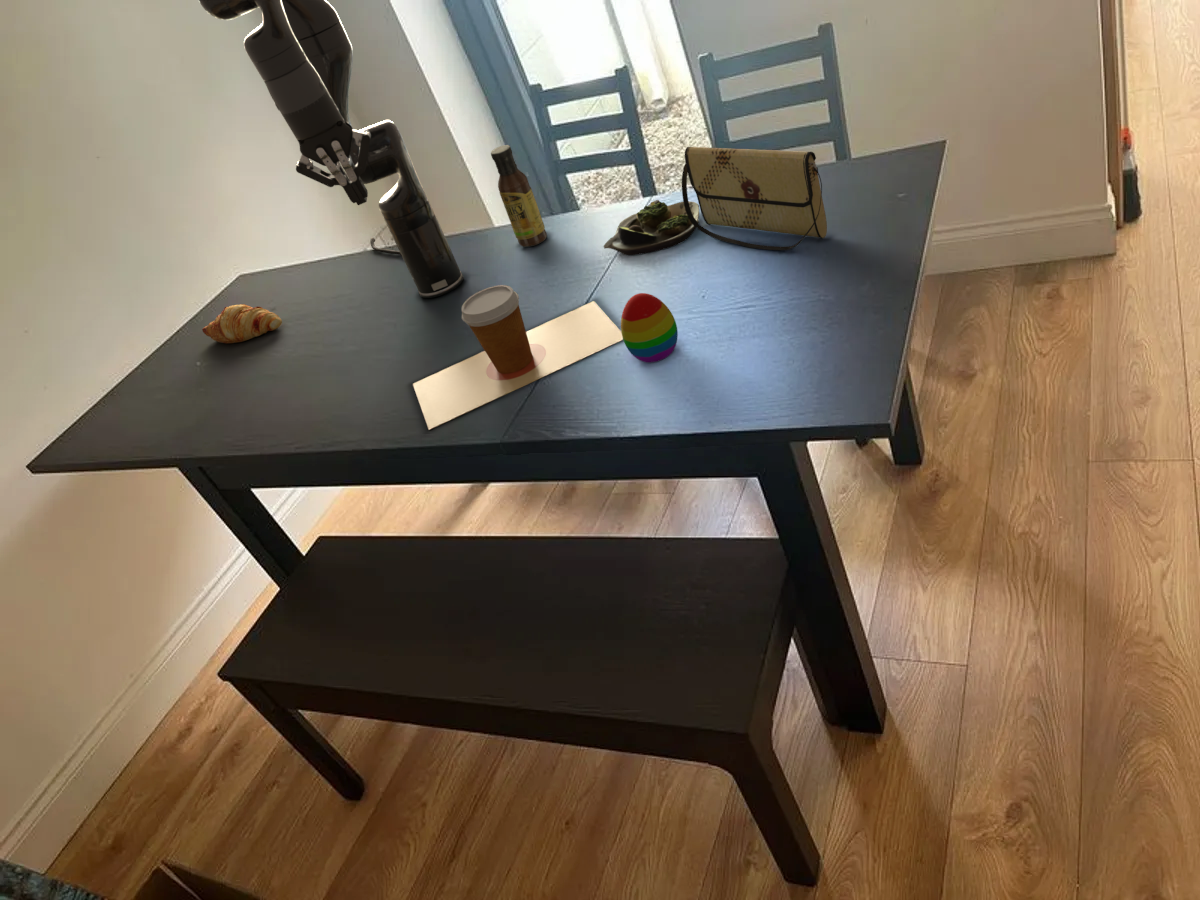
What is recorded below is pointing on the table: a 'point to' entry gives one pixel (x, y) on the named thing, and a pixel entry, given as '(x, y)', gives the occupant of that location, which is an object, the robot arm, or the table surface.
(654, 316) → the decorative egg
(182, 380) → the table surface
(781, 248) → the clutch purse
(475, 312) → the disposable coffee cup
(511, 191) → the sauce bottle
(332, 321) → the table surface
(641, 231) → the salad plate
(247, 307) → the croissant
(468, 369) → the placemat
